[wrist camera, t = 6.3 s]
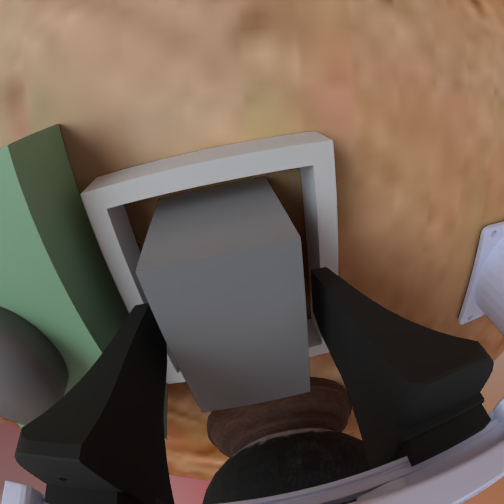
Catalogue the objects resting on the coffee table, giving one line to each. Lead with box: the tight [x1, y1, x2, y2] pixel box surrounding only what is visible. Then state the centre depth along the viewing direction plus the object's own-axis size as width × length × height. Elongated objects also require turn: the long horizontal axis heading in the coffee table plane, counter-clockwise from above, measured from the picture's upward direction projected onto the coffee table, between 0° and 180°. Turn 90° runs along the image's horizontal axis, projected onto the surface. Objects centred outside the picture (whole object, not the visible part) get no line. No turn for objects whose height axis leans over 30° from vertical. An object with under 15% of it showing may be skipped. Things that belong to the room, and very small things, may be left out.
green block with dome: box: [0, 124, 338, 440], centre depth 12 cm, size 20×16×6 cm
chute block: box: [135, 176, 310, 412], centre depth 12 cm, size 4×7×6 cm, turn 9°
